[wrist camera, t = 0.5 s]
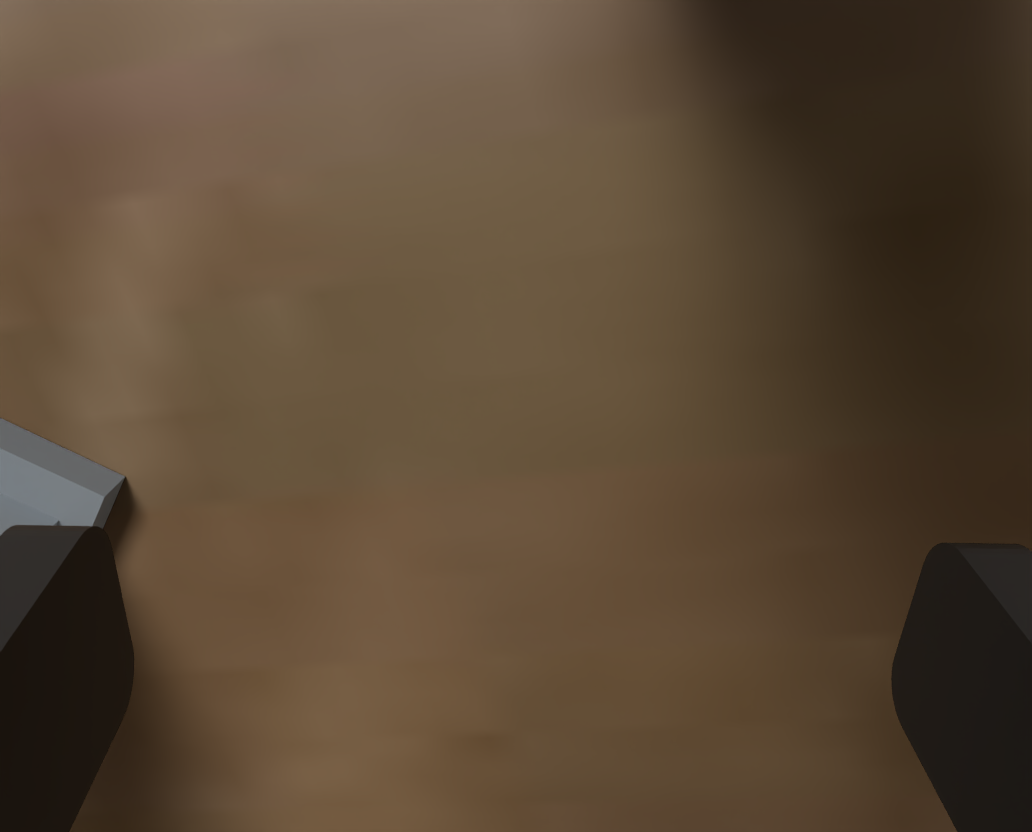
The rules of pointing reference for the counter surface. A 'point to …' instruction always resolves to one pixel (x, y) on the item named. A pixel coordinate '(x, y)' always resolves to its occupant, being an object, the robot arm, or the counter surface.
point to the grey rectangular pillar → (51, 483)
